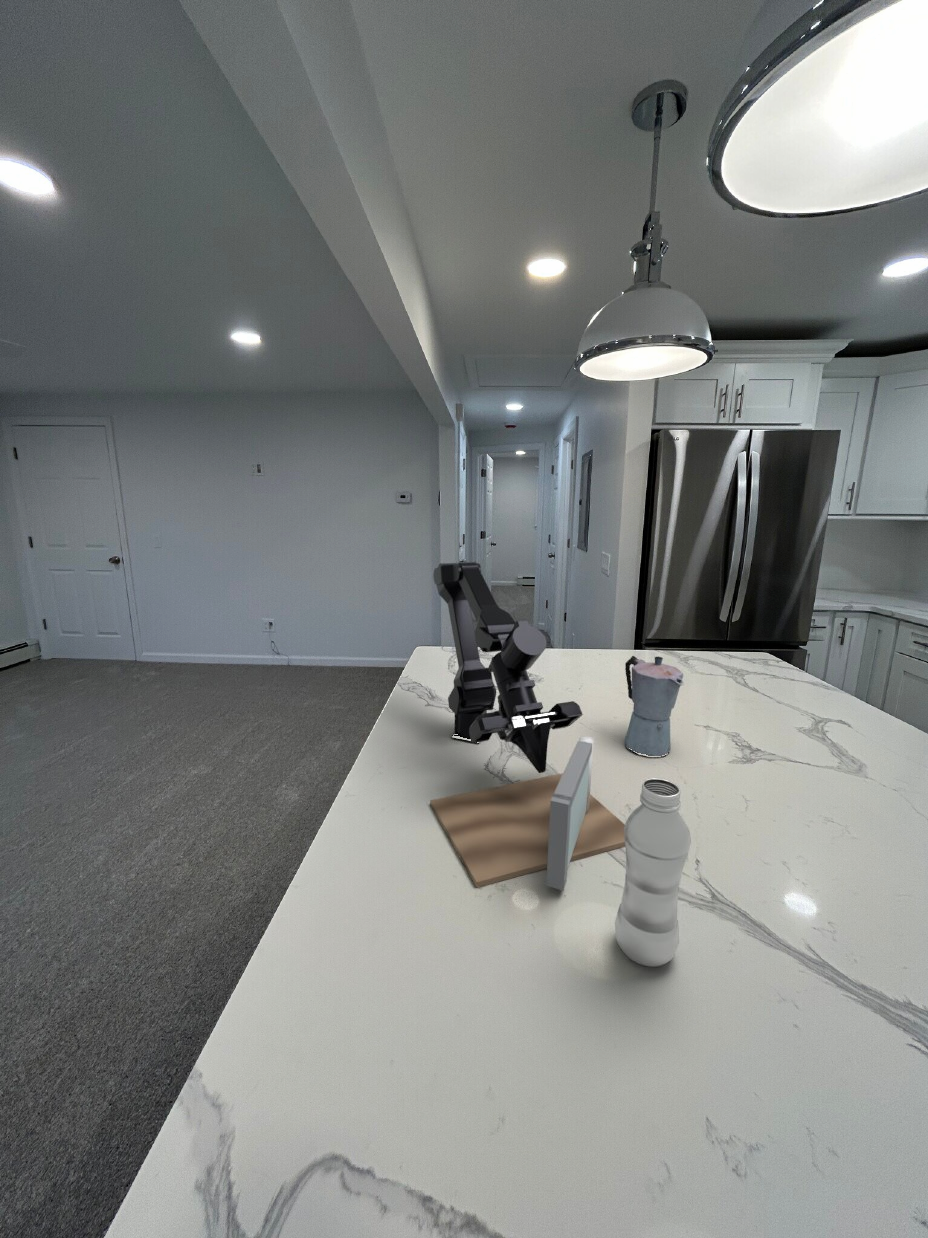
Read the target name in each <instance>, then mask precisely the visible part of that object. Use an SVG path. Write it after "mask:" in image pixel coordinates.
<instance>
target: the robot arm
mask: <svg viewBox="0 0 928 1238" xmlns="http://www.w3.org/2000/svg"><path fill="white" fill-rule="evenodd" d="M433 582H434V584H435V585H436V588H437V592H438V595H439V596H440V597H441V598H442V599H443V600H444V602H445V603H446V605H447V606H448V613H449V619H450V620H449V621H450V624H451V631H452V636H453V641H454V642H453V644H454V648H455V653H456V658H457V659H456V660H457V665H458V669H457V670H456V673H455V677H454V679H453V688H452V690H451V692H450V694H449V695H448V697H447V702H448V708H449V709H450V710H451V711H452V712H453V713H454V733H455V734H458V735H454V736H460V737H463V738H467V739H471V742H470V743H472V744H477V742H480V743H481V742H488V741H489V740H490V739H491V737H492V736H493V734H497V736H498V738H499V739H500V740H502V741H504V742H506V743H511V744H514V745H515V746H517V747H518V748H519V749H520V750H521V751H522V752H523V754H524V755H525V756H526V757H527V759H528V761H530V763H531V765H532V766H533V767H534V769H535V770H536V772H537V773H538V774H542V773H545V772H546V770H547V756H548V754H547V753H548V743H549V737H550V731H551V729H552V730H559V729H565V728H568V727H571V726H572V725H573V724H574V723H575V722H576V721H577V720H579V719H580V718H581V717H583V715H584V714H583V711H582V709H581V706H580V705H579V703H577V702H575V701H574V700H573V701H566V702H559V703H555V705H553V706H552V707H551V708H550V709H549V711H543V712H542V711H541V710H543V709H544V706H543V702H541V701H539V702H538V700H537V696H536V695H535V691H534V689H533V688H534V687H535V686H536V683H535V679H530V678H529V674H528V671H527V670H529V669H531V667H533V665H534V664H535V663H536V662H537V660H538V659H539V658H540V656H541V655H542V654H543V652H545V651H546V648H547V638H546V636H545V635H544V634H543V633H542V632H541V631H540V629H538V628H537V627H534V626H532V625H530V624H529V621H528V619H523V620H522V619H521V620H515V619H514V618H513V617H512V615H511V614H510V613H509V612H507V611H506V610H505V609H502V608H500V606H499V605H498V602H497V601H496V599H495V597H494V596H493V595H494V594H493V593H492V591H491V590H490V587H489V586H488V583H487V581H486V579H485V578H484V575H483V573H482V567H481V564H480V563H479V562H476V561H463V562H462V561H460V562H445V563H444V562H442V563H439V564H438V566H437V567H436V568H434V570H433ZM473 617H474V619H475V621H476V625H474V621H473ZM478 648H479V649H480V651H481V652H483V653H496V652H498V653H496V654H495V655H494V656H492V657H491V660H490V663H489V665H488V667H485V665H484V664H483V663H482V662H481V658H480V657H481V656H480V651H479V649H478ZM493 677H494V680H493ZM494 681H495V683H496V686H495V683H494ZM496 687H497V688H496ZM497 690H498V696H497ZM496 697H497V703H498V710H495V711H493V709H494V707H495V702H496ZM488 711H491V712H488ZM451 736H453V735H452V734H451V735H450V737H451Z"/></svg>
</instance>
